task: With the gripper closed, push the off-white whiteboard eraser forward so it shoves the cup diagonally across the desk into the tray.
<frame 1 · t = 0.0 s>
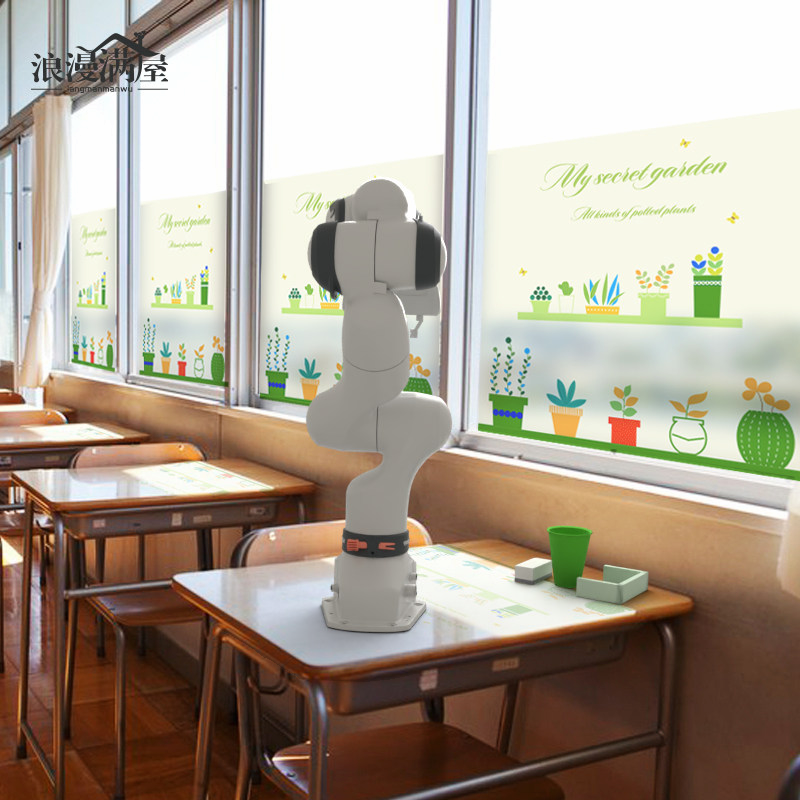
hand: (390, 337, 215), 48 cm above the table, fingers open, 8 cm apart
eraser: (533, 579, 212), on the table
cup: (567, 585, 208), on the table
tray: (605, 591, 204), on the table
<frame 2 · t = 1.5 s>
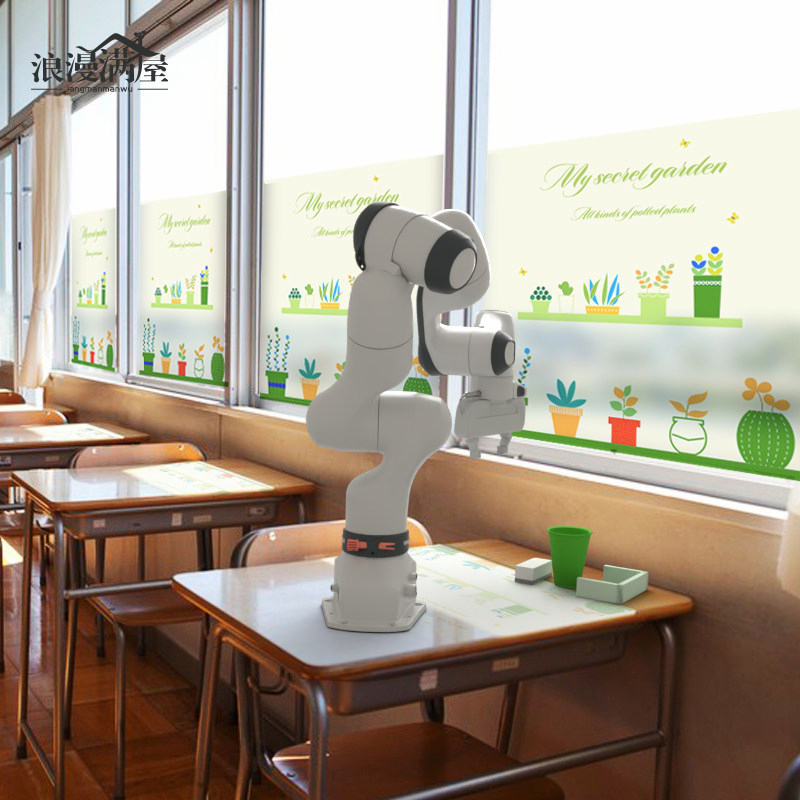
hand: (488, 456, 215), 24 cm above the table, fingers open, 8 cm apart
nothing on the table moved.
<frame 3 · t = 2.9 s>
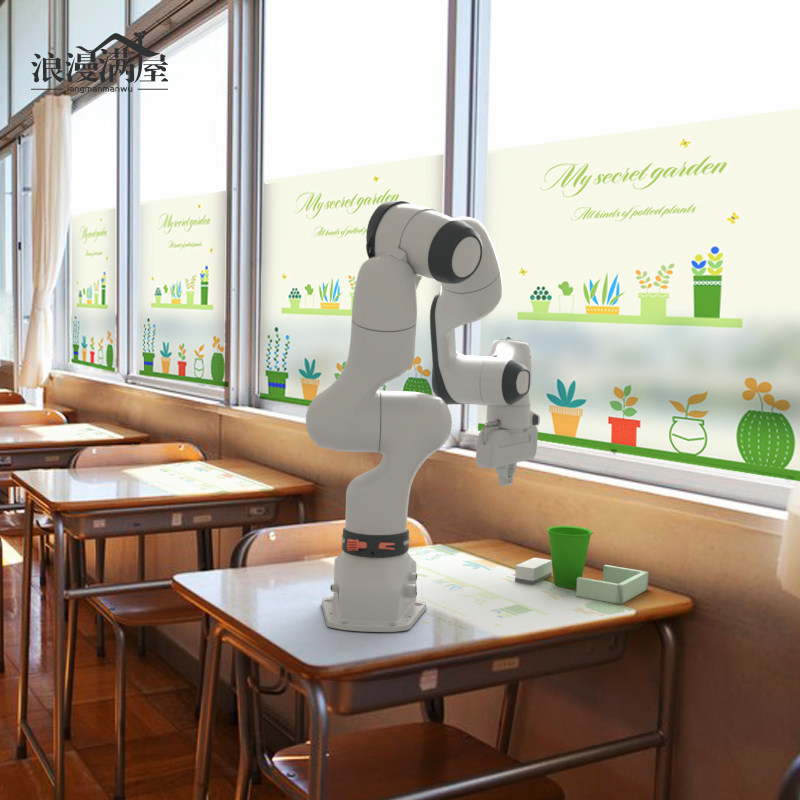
hand: (505, 485, 215), 18 cm above the table, fingers closed
nothing on the table moved.
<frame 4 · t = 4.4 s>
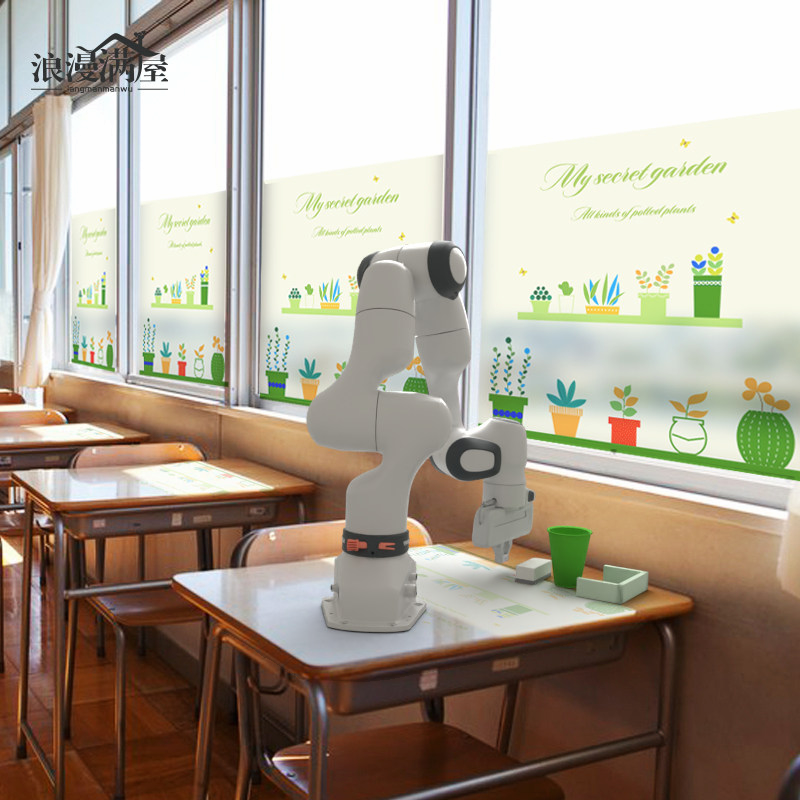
hand: (501, 561, 216), 2 cm above the table, fingers closed
nothing on the table moved.
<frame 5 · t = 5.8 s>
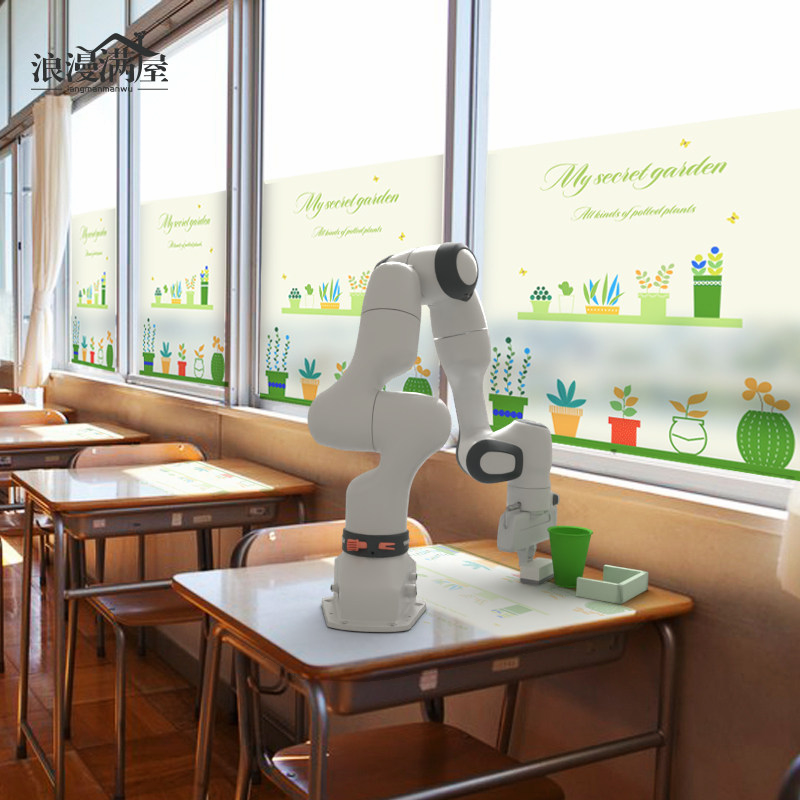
hand: (525, 566, 213), 2 cm above the table, fingers closed
eraser: (538, 579, 212), on the table, touching cup, gripper
cup: (567, 585, 208), on the table, touching eraser
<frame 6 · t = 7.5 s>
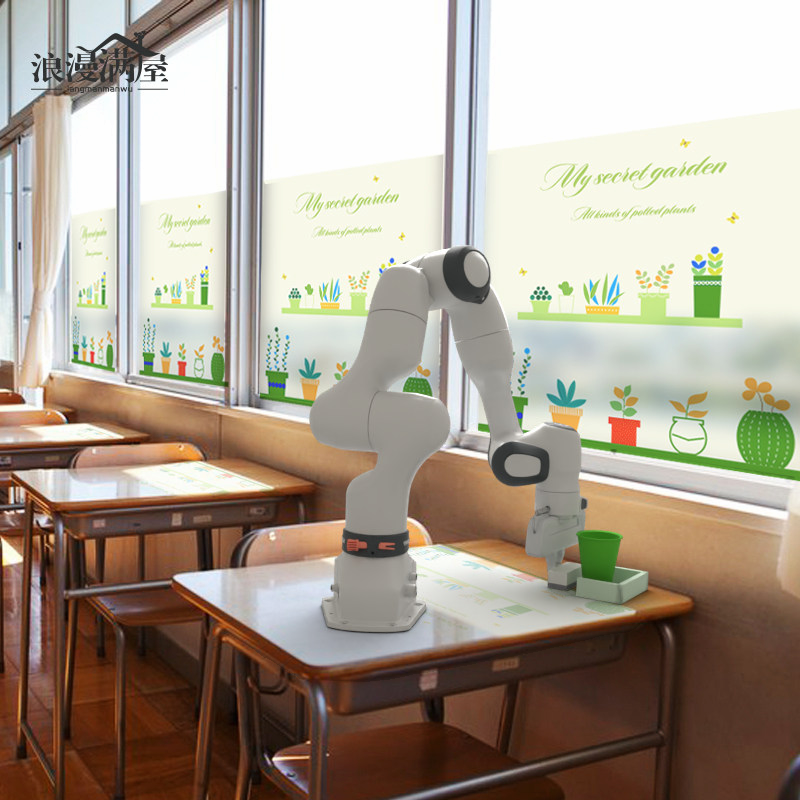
hand: (553, 571, 210), 2 cm above the table, fingers closed, pressing on eraser
eraser: (566, 584, 208), on the table, touching cup, gripper
cup: (596, 590, 205), on the table, touching eraser
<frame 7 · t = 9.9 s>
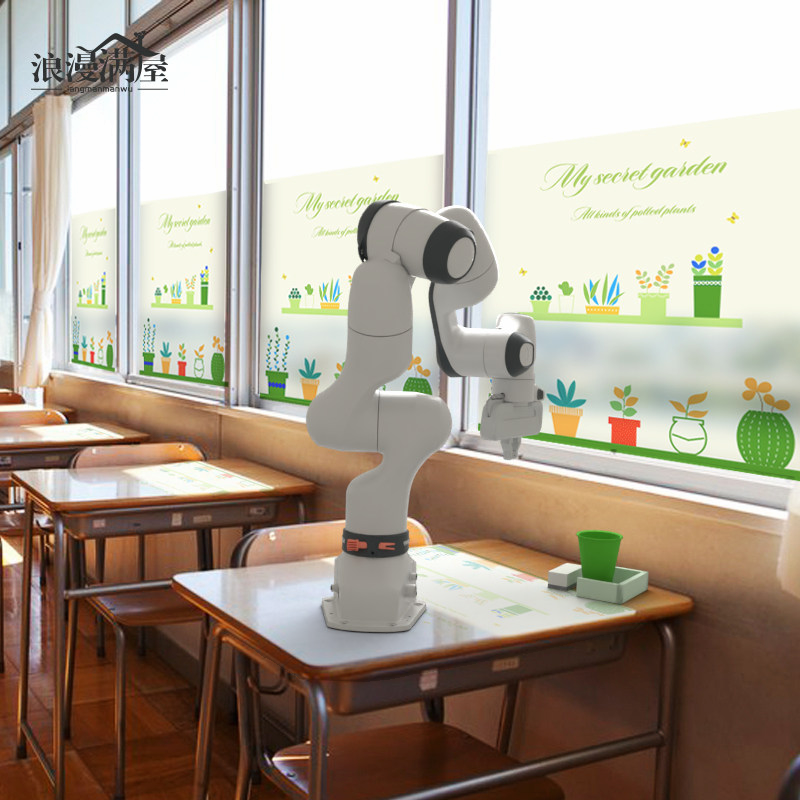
hand: (510, 459, 216), 24 cm above the table, fingers closed
eraser: (566, 585, 208), on the table
cup: (597, 591, 205), on the table
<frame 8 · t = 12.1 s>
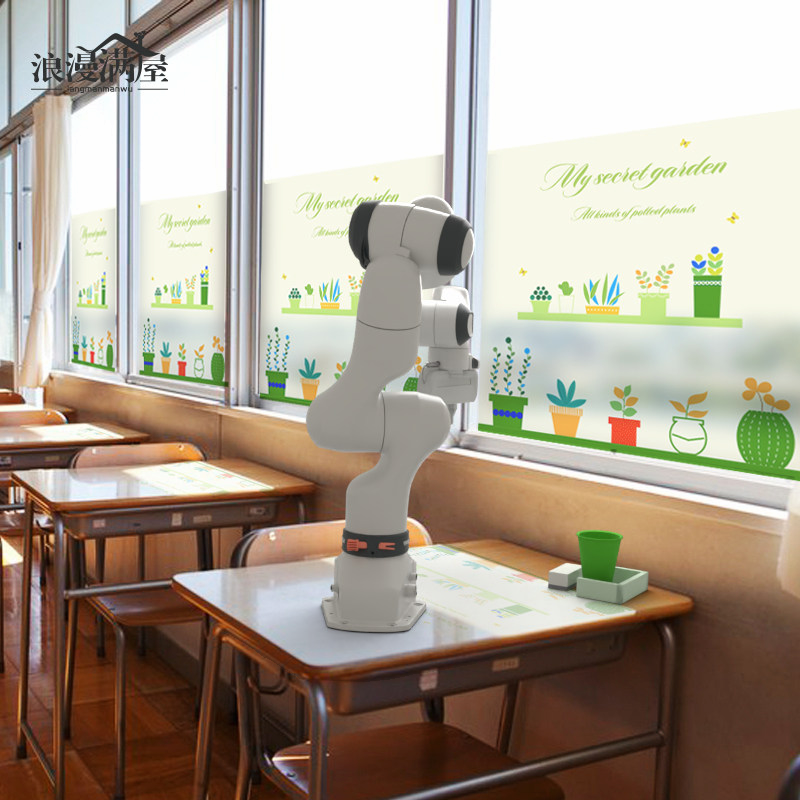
hand: (446, 424, 227), 29 cm above the table, fingers closed
nothing on the table moved.
at the end: cup inside the target area on the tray (1.6 cm from its centre), point 0.0 cm above the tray's base; cup tilted 0° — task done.
